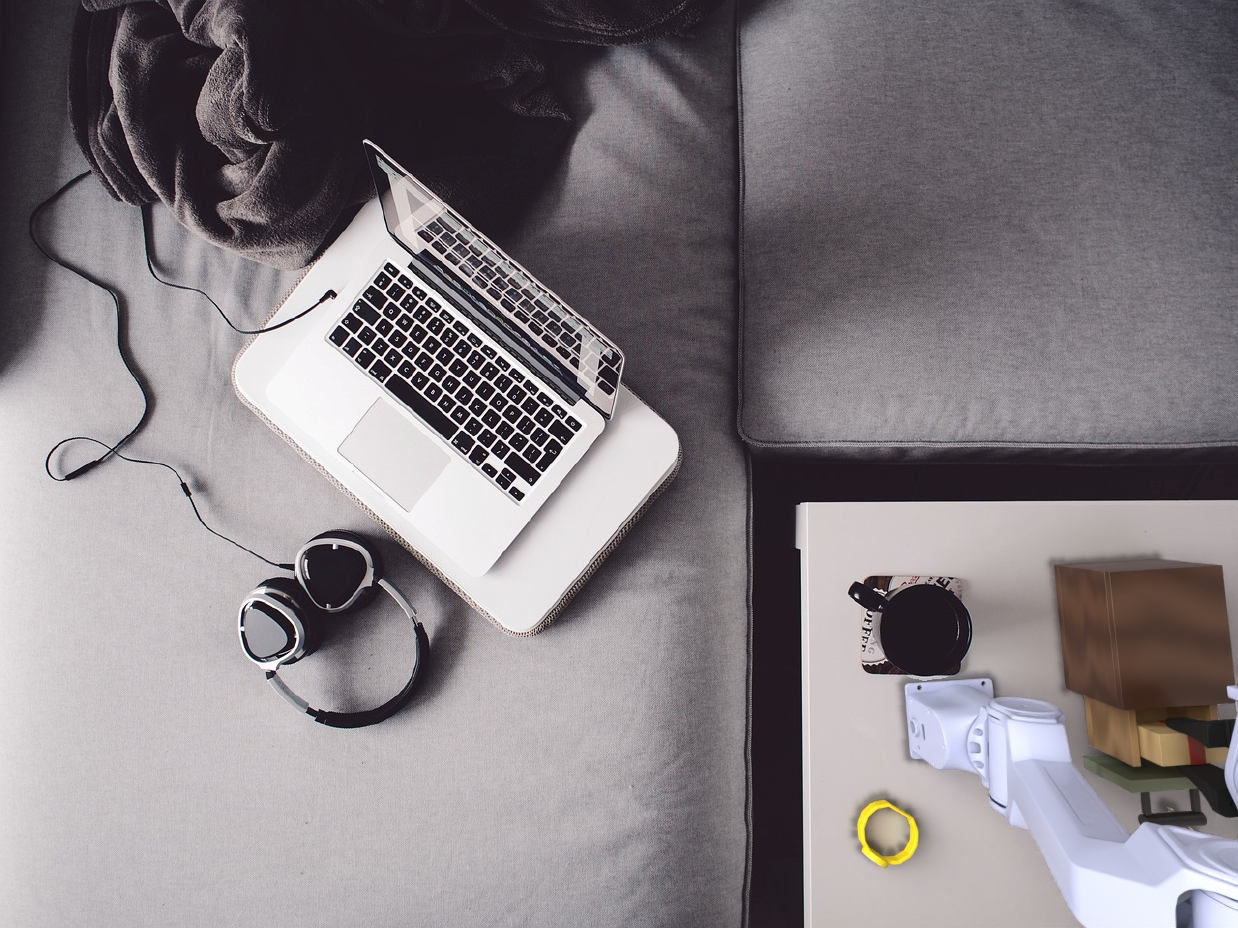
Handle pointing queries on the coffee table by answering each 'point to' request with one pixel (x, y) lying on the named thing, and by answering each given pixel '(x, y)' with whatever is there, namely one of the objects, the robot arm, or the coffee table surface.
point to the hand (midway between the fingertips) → (1177, 740)
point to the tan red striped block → (1174, 746)
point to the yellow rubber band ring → (874, 855)
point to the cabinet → (1145, 633)
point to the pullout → (1131, 770)
